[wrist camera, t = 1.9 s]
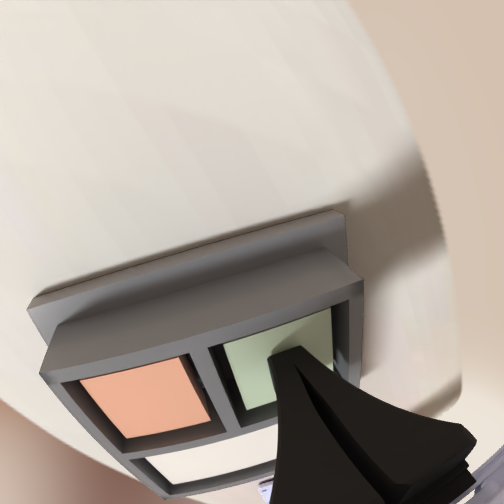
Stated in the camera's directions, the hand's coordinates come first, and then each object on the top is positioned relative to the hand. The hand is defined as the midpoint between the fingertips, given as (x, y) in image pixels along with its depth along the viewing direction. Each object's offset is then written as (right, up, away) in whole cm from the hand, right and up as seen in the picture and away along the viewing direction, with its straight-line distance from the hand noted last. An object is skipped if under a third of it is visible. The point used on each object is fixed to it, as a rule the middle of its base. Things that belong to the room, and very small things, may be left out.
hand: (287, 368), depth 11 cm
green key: (0, +1, +2) cm, 2 cm away
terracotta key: (-6, -1, +1) cm, 6 cm away
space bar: (-2, -5, +4) cm, 6 cm away
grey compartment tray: (-3, -2, +4) cm, 5 cm away
